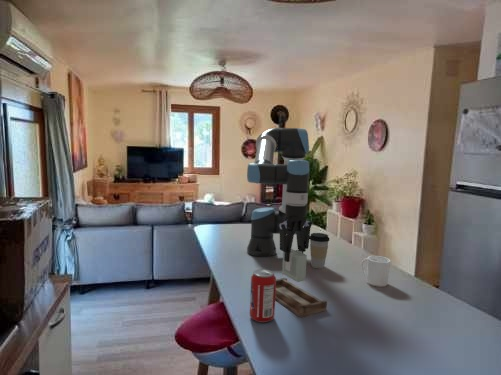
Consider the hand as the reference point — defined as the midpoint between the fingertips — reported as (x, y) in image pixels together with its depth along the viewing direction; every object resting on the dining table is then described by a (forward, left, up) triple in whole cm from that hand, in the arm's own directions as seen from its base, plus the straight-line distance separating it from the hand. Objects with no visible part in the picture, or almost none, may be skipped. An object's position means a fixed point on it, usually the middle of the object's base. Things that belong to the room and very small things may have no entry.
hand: (293, 269), depth 122 cm
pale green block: (0, 0, -3) cm, 3 cm away
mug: (+2, +41, -12) cm, 43 cm away
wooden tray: (0, 0, -11) cm, 11 cm away
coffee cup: (-24, +33, -11) cm, 42 cm away
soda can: (+7, -17, -11) cm, 22 cm away
